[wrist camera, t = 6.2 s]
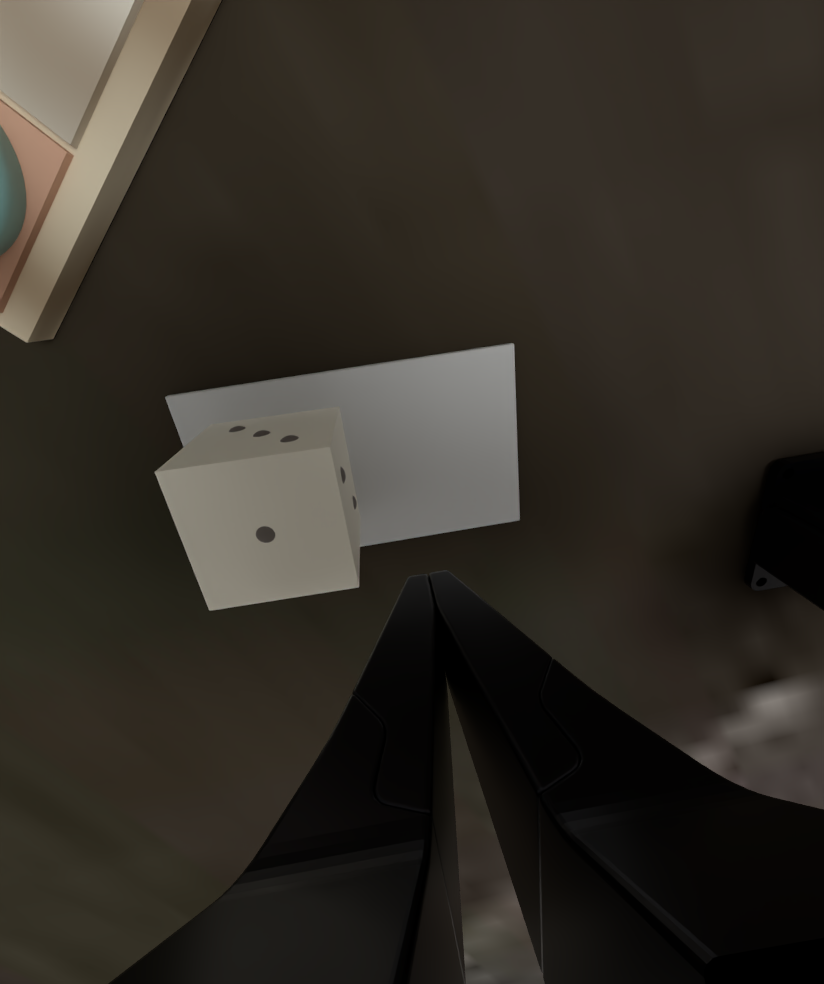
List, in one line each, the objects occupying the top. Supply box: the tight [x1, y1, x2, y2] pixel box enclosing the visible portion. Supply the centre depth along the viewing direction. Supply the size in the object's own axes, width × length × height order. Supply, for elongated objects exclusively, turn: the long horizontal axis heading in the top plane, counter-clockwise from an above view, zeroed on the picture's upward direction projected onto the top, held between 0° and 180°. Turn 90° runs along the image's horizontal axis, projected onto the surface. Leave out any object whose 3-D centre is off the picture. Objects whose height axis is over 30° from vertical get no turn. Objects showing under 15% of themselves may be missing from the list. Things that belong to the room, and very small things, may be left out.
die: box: [155, 407, 360, 611], centre depth 14 cm, size 5×5×5 cm
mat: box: [165, 343, 520, 547], centre depth 17 cm, size 12×7×1 cm, turn 98°
